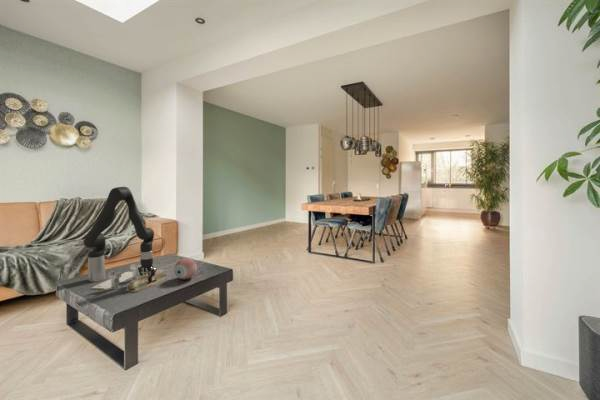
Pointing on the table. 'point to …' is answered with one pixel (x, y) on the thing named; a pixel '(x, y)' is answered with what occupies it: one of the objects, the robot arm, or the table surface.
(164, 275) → the rack
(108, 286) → the baseboard
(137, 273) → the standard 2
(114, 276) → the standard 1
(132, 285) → the rail
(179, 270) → the eyeball
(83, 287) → the table surface
